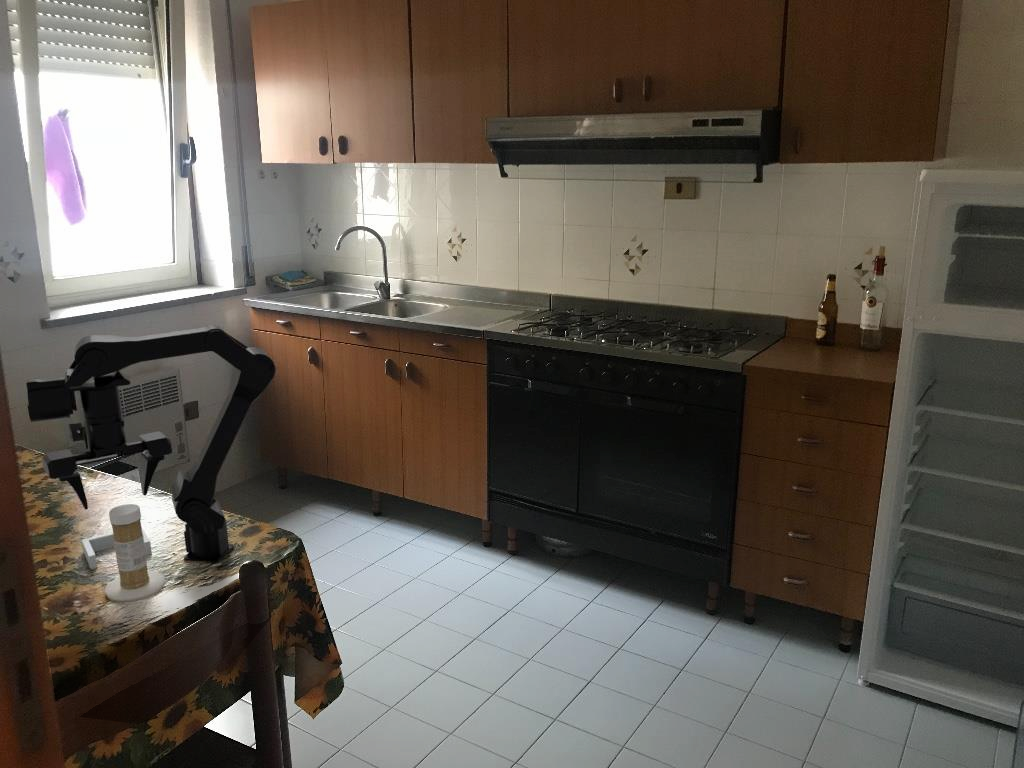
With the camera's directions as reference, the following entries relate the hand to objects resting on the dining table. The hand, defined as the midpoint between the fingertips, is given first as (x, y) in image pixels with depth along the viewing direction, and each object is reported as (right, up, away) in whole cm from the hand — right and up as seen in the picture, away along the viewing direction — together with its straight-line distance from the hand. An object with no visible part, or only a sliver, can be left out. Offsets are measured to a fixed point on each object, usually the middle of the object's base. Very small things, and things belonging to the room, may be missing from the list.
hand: (115, 501), depth 140 cm
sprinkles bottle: (+4, -13, -2) cm, 14 cm away
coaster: (+4, -14, -2) cm, 15 cm away
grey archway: (-4, -11, +9) cm, 15 cm away
